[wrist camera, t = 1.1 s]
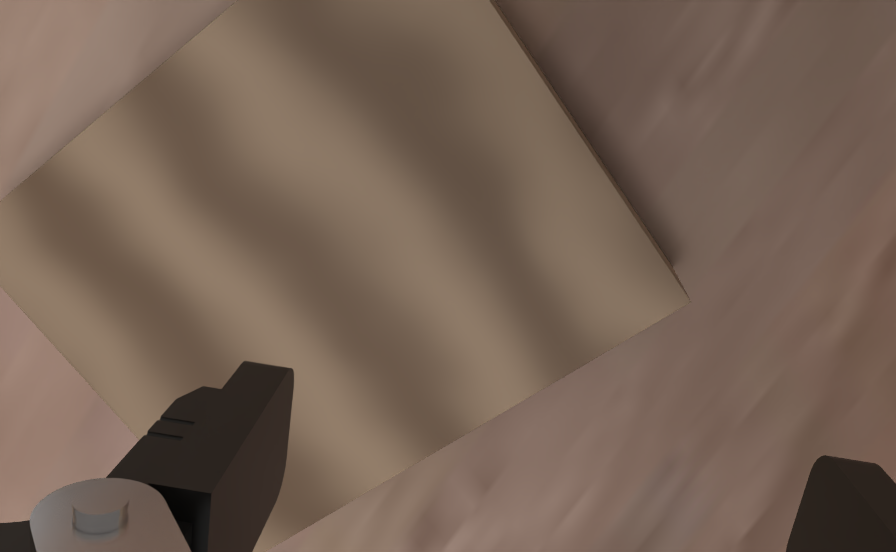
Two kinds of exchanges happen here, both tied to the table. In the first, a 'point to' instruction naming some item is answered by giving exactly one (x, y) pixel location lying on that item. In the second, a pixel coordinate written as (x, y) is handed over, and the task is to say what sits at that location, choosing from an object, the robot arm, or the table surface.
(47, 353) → the table surface
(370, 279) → the walnut stand
